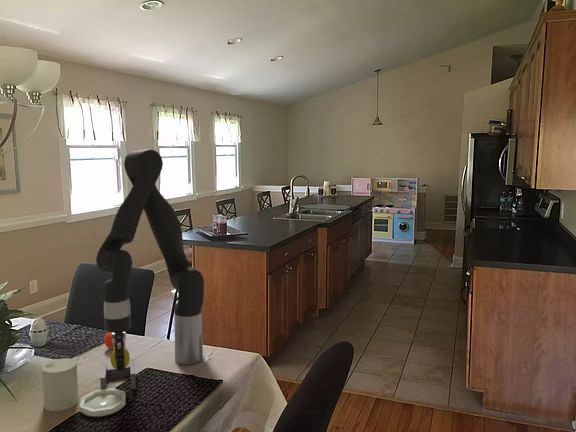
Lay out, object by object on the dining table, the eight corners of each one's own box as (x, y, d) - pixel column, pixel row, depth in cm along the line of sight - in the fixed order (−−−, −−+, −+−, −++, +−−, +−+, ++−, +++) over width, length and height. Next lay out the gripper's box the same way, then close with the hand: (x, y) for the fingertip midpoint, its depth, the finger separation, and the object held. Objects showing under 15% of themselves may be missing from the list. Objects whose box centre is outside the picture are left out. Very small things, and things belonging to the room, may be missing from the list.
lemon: (124, 375, 141) (122, 350, 140) (107, 374, 142) (106, 349, 141) (133, 367, 147) (132, 343, 146) (117, 365, 148) (115, 341, 147)
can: (51, 395, 140) (49, 356, 138) (83, 394, 140) (81, 356, 139) (37, 412, 131) (35, 371, 129) (72, 411, 131) (70, 370, 130)
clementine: (100, 347, 174) (99, 328, 173) (118, 342, 179) (118, 324, 178) (108, 354, 168) (108, 335, 168) (127, 349, 173) (126, 330, 172)
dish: (125, 391, 142) (125, 386, 142) (125, 412, 131) (125, 406, 131) (82, 397, 138) (82, 392, 138) (78, 419, 127) (78, 413, 127)
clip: (135, 373, 154) (134, 359, 153) (135, 388, 144) (135, 373, 144) (102, 377, 151) (101, 363, 150) (100, 393, 141) (100, 378, 140)
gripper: (131, 320, 137) (134, 374, 139) (129, 304, 150) (132, 354, 152) (103, 323, 134) (107, 379, 136) (104, 307, 147) (107, 358, 150)
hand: (120, 365), depth 144 cm, fingers closed on lemon, 5 cm apart
